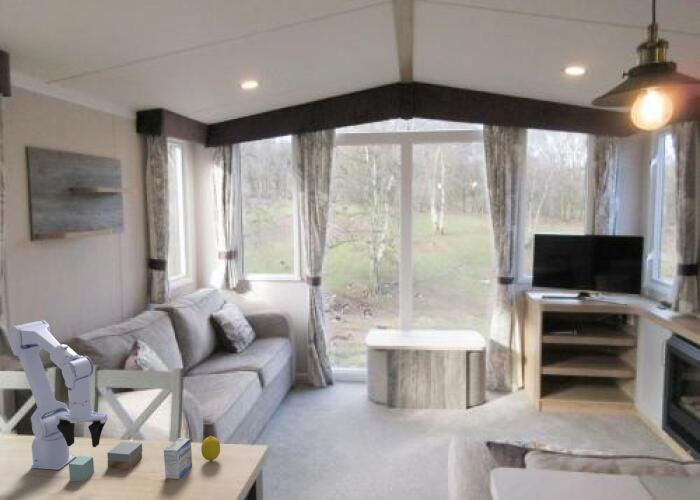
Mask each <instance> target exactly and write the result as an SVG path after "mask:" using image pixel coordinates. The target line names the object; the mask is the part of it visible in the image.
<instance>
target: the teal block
mask: <svg viewBox="0 0 700 500" xmlns="http://www.w3.org/2000/svg"><path fill="white" fill-rule="evenodd" d="M94 467H95V466H94V457H93V456H83V455H79V456H78V457H77V456H76V458H74V459H73V460H72V461H70V462H69V463H68V471H69V473H68V474H69V481H76V482H85V481H87V480H88V479H89V478H90V477H91V476H92V475H94V474H95V468H94Z"/></svg>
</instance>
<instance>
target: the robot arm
mask: <svg viewBox="0 0 700 500" xmlns="http://www.w3.org/2000/svg"><path fill="white" fill-rule="evenodd" d="M7 340H8V343H9V346H10V349H11V351H12V353H13V355H14V356H17V357H18V358H19V360H20V364H21V366H22V368H23V372H24V373H25V376H26V379H27V381H28V385H29V387H30V390H31V393H32V396H33V398H34V401H35V404H36V409H35V411H33V413H32V415H31V417H30V422H31V428H32V433H33V435H34V438H33V439H32V440H33V441H32V444H31V452H32V453H31V454H32V465H31V466H30V468H31V469H43V470H56V471H59V470H62V468H64V467H65V466H66V465H69V463H71V462H72V461H73V460H75V459H76V458H77V455H74V454H70V447H71V446H73V444H75V424H77V423H81V422H84V423H86V422H88V423H91V424H89V425H88V430H89V433H90V436H91V437H90V438H91V445H92V448H96V447H98V446H99V445H100V440H101V436H102V433H103V432H102V431H103V430H104V427H105V425H106V423H107V421H108V414H107V413H101V412H97V411H93V404H92V390H91V377H90V376H92V375H93V374H94V371H95V369H94V367H95V366H94V363H93V361H92V359H91V358H90V357H89V356H87V355H84V356H83V355H79V354H78V353H77V352H75V350H73V349H72V348H71V347H70V346H69V345H68V344H63V343H62V344H60V342H59V341H58V340H57V339H56V338H55V337H54V336H53V335H52V333H51V326H50V324H49V323H48V322H47V321H46V320H44V319H40V320H37V321H34V322H33V321H32V322H27V323H23V324H19V325H12V326H10V327H9V329H8V333H7ZM41 350H45V351H46V352H48V353H49V360H51V362H52V363H53V364H54V365H56V367H57V368H59V369H60V370H61V375H62V377H63V379H64V385H65V387H66V388H67V394H68V395H67V396H68V405H67V404H66V403H65V402H61V401H58V400H56V397H55V395H54V392H53V390H52V389H53V388H52V386H51V384H50V381H49V378H48V375H47V373H46V370H45V368H44V365H43V362H42V360H41V357H40V354H39V353H40V352H41Z"/></svg>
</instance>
